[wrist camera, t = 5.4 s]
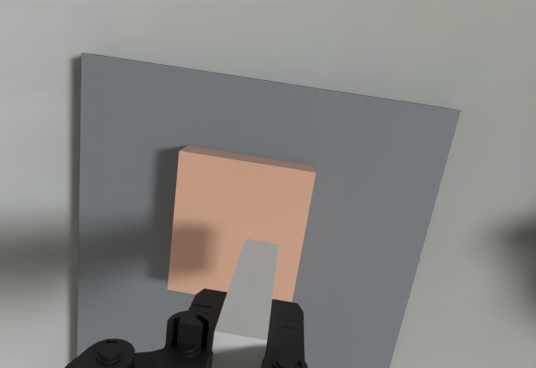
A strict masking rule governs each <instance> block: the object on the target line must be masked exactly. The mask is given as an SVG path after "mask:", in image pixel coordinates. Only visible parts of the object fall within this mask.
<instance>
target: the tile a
mask: <svg viewBox="0 0 536 368" xmlns="http://www.w3.org/2000/svg"><path fill="white" fill-rule="evenodd" d="M315 176H316V170H315V166H313V165H307V164H300V163H294V162H288V161H282V160H275V159H269V158H263V157H256V156H250V155H244V154H238V153H231V152H225V151H219V150H213V149H206V148H200V147H194V146H186V147H185V148H183V149H181V150H180V151H179V159H178V171H177V182H176V194H175V206H174V218H173V229H172V241H171V253H170V264H169V276H168V288H167V290H173V291H178V292H184V293H190V294H197V293H199V292H200V291H201V290H203V289H204V288H206V289H211V290H217V291H223V292H228V289H229V286H230V283H231V280H232V277H233V274H234V271H235V268H236V265H237V262H238V259H239V256H240V253H241V250H242V247H243V244H244V241H245V239H251V240H257V241H263V242H269V243H275V244H279V245H278V254H277V262H276V271H275V279H274V287H273V296H272V299H276V300H282V301H288V302H292V300H293V294H294V289H295V284H296V278H297V273H298V267H299V262H300V257H301V251H302V246H303V240H304V235H305V230H306V224H307V219H308V213H309V208H310V203H311V197H312V192H313V187H314V181H315Z"/></svg>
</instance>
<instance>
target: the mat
mask: <svg viewBox="0 0 536 368" xmlns="http://www.w3.org/2000/svg"><path fill="white" fill-rule="evenodd" d="M459 114H460V110H455V109H450V108H443V107H437V106H430V105H423V104H417V103H410V102H404V101H397V100H391V99H384V98H378V97H371V96H364V95H358V94H351V93H345V92H338V91H332V90H325V89H319V88H312V87H305V86H299V85H292V84H286V83H279V82H273V81H266V80H260V79H253V78H246V77H240V76H233V75H227V74H220V73H214V72H207V71H201V70H194V69H187V68H181V67H174V66H168V65H161V64H155V63H148V62H142V61H135V60H128V59H122V58H115V57H109V56H102V55H96V54H88V53H81V119H80V186H79V253H78V320H77V357H78V356H79V355H80V354H81V353H83V352H84V351H85V350H86V349H87V348H89V347H90V346H92V345H93V344H95V343H97V342H99V341H102V340H105V339H115V338H117V339H122V340H126V341H128V342H129V343H131V344H132V345H133V347H134V349H135V353H138V352H150V351H156V350H159V349H162V348H164V346H165V343H166V331H167V320H168V319H169V318H170V317H171V316H172V315H174V314H176V313H178V312H181V311H187V310H188V309H189V307H190V305H191V303H192V301H193V299H194V297H195V295H196V294H190V293H184V292H178V291H173V290H167V288H168V276H169V264H170V253H171V241H172V229H173V218H174V206H175V194H176V182H177V171H178V159H179V151H180V150H181V149H183V148H185V147H186V146H194V147H200V148H206V149H213V150H219V151H225V152H231V153H238V154H244V155H250V156H256V157H263V158H269V159H275V160H282V161H288V162H294V163H300V164H307V165H313V166H315V170H316V176H315V181H314V187H313V192H312V197H311V203H310V208H309V213H308V219H307V224H306V230H305V235H304V240H303V246H302V251H301V257H300V262H299V267H298V273H297V278H296V284H295V289H294V294H293V300H292V302H294V303H298V304H299V306H300V307H301V309H302V310H303V312H304V351H305V362H306V363H307V366H308V368H389V367H390V363H391V360H392V356H393V352H394V349H395V345H396V342H397V338H398V334H399V331H400V327H401V324H402V320H403V316H404V313H405V309H406V306H407V302H408V298H409V295H410V291H411V288H412V284H413V280H414V277H415V273H416V269H417V266H418V262H419V259H420V255H421V251H422V248H423V244H424V241H425V237H426V233H427V230H428V226H429V223H430V219H431V215H432V212H433V208H434V205H435V201H436V197H437V194H438V190H439V186H440V183H441V179H442V176H443V172H444V168H445V165H446V161H447V158H448V154H449V150H450V147H451V143H452V140H453V136H454V132H455V129H456V125H457V121H458V118H459Z"/></svg>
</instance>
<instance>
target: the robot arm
mask: <svg viewBox="0 0 536 368" xmlns="http://www.w3.org/2000/svg"><path fill="white" fill-rule="evenodd" d="M278 245H279V244H275V243H269V242H263V241H257V240H251V239H245V241H244V244H243V247H242V250H241V253H240V256H239V259H238V262H237V265H236V268H235V271H234V274H233V277H232V280H231V283H230V286H229V289H228V292H223V291H217V290H211V289H206V288H204V289H203V290H201V291H200V292H199V293H197V294H196V295H195V297H194V299H193V301H192V303H191V305H190V307H189V309H188V310H187V311H181V312H178V313H176V314H174V315H172V316H171V317H170V318H169V319H168V320H167V331H166V343H165V346H164V348H162V349H159V350H156V351H150V352H138V353H135V349H134V347H133V345H132V344H131V343H129V342H128V341H126V340H122V339H117V338H115V339H105V340H102V341H99V342H97V343H95V344H93V345H92V346H90V347H89V348H87V349H86V350H85V351H84V352H83V353H81V354H80V355H79V356H78V357H77V358H75V359H74V360H73V361H72V362H71V363H69V364H68V365H67V366H66V367H65V368H308V366H307V363H306V362H305V351H304V312H303V310H302V309H301V307H300V306H299V304H298V303H294V302H288V301H282V300H276V299H272V296H273V287H274V279H275V271H276V262H277V254H278Z"/></svg>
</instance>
